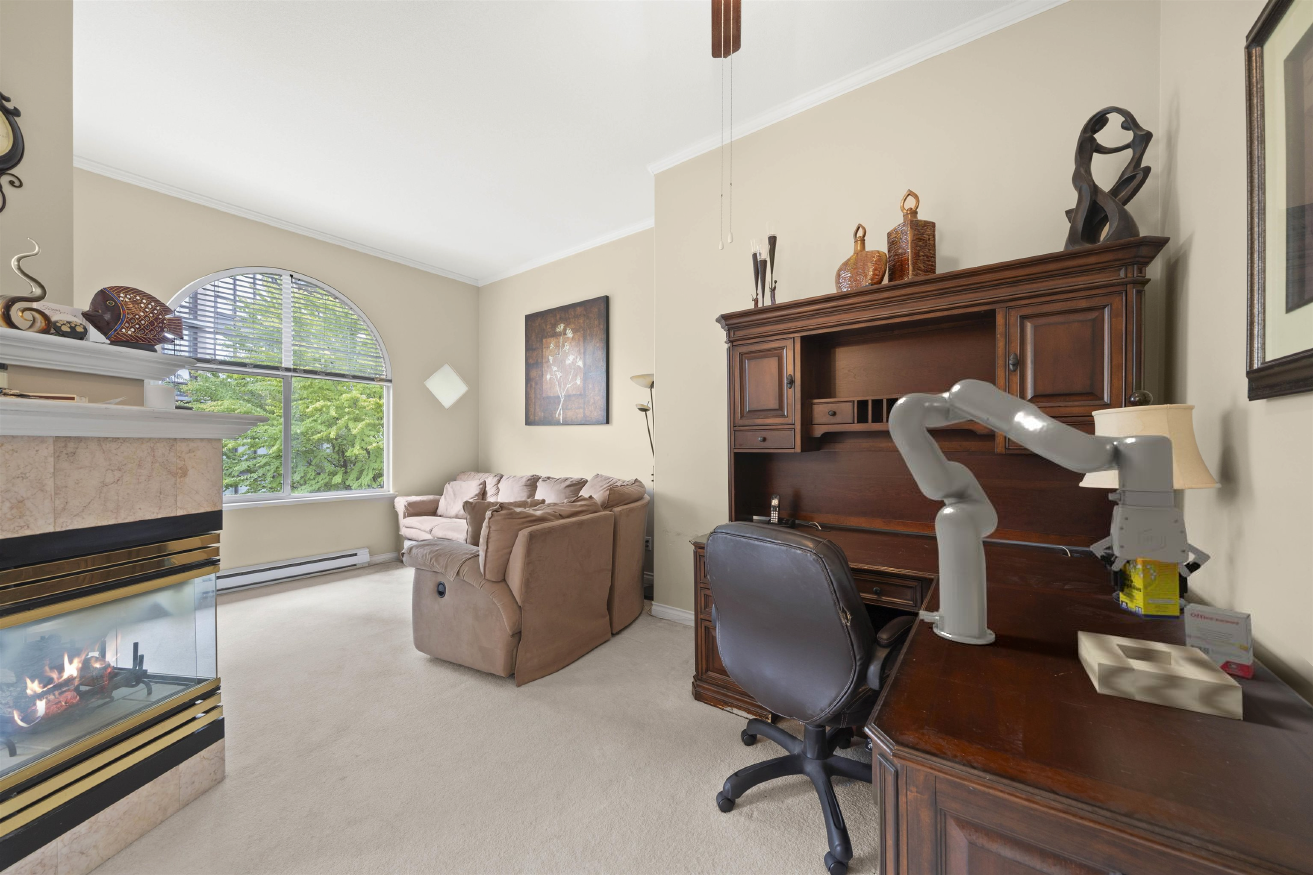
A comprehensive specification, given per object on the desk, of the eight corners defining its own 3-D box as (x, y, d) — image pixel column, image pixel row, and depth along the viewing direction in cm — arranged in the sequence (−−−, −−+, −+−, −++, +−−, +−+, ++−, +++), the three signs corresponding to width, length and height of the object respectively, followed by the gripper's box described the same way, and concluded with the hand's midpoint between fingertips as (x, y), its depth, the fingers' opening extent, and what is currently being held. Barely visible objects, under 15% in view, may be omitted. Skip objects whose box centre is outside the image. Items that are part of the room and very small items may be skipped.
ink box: (1254, 673, 98) (1253, 613, 98) (1250, 680, 95) (1248, 618, 96) (1190, 657, 106) (1189, 601, 106) (1185, 663, 103) (1183, 606, 103)
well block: (1098, 692, 91) (1097, 662, 91) (1078, 656, 106) (1078, 630, 107) (1242, 720, 82) (1241, 686, 82) (1198, 676, 97) (1197, 648, 97)
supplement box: (1119, 608, 98) (1117, 552, 98) (1154, 609, 97) (1152, 552, 97) (1143, 618, 92) (1141, 558, 92) (1181, 620, 91) (1179, 559, 91)
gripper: (1090, 499, 96) (1092, 591, 96) (1220, 504, 87) (1223, 606, 87) (1082, 496, 102) (1084, 582, 102) (1202, 500, 93) (1205, 595, 93)
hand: (1148, 592), depth 94 cm, fingers closed on supplement box, 7 cm apart
